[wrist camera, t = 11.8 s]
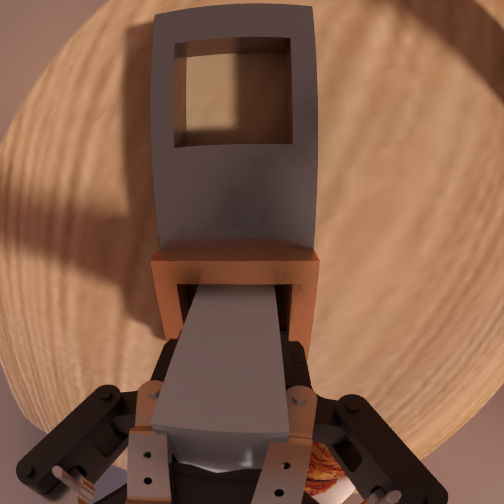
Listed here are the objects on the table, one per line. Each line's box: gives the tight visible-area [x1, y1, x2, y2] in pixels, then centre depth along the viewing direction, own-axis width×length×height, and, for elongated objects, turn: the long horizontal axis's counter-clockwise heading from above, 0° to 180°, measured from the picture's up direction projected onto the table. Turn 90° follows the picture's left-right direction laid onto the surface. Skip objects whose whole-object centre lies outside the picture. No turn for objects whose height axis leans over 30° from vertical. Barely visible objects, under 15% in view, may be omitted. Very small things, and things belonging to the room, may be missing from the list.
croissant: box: [304, 441, 345, 496], centre depth 24 cm, size 21×10×8 cm, turn 134°
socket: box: [150, 4, 320, 361], centre depth 14 cm, size 22×8×4 cm, turn 1°
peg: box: [150, 284, 289, 473], centre depth 12 cm, size 4×4×10 cm
